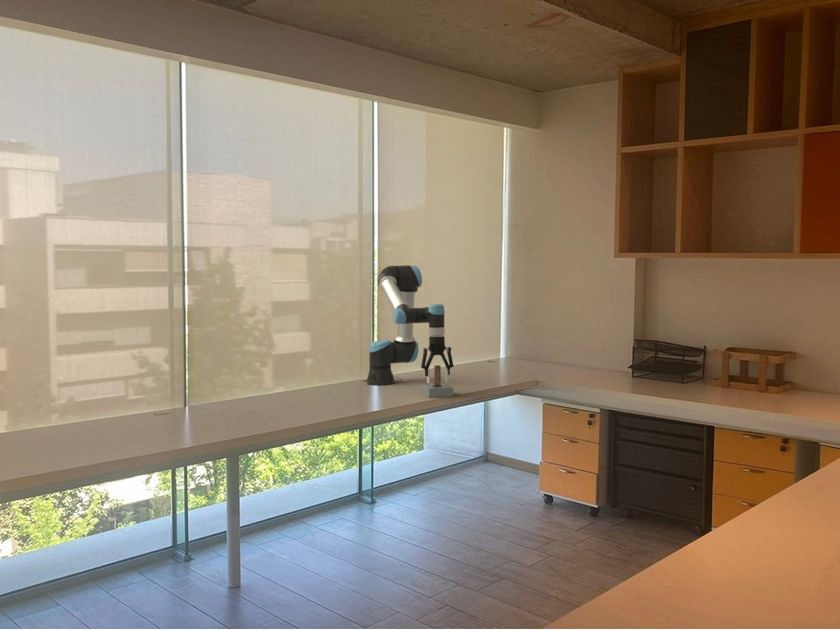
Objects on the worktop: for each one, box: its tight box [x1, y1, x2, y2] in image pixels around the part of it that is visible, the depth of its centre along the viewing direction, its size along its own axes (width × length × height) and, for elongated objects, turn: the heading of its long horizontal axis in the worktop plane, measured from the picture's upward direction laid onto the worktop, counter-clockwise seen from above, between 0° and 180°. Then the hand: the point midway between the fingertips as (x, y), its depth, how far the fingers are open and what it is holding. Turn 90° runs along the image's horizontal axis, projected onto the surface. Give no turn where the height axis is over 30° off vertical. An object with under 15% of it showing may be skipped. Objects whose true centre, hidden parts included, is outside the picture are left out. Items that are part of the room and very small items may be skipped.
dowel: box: [433, 364, 442, 387], centre depth 368 cm, size 3×3×14 cm
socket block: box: [422, 383, 454, 399], centre depth 369 cm, size 12×12×4 cm
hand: (437, 382), depth 368 cm, fingers open, 8 cm apart
